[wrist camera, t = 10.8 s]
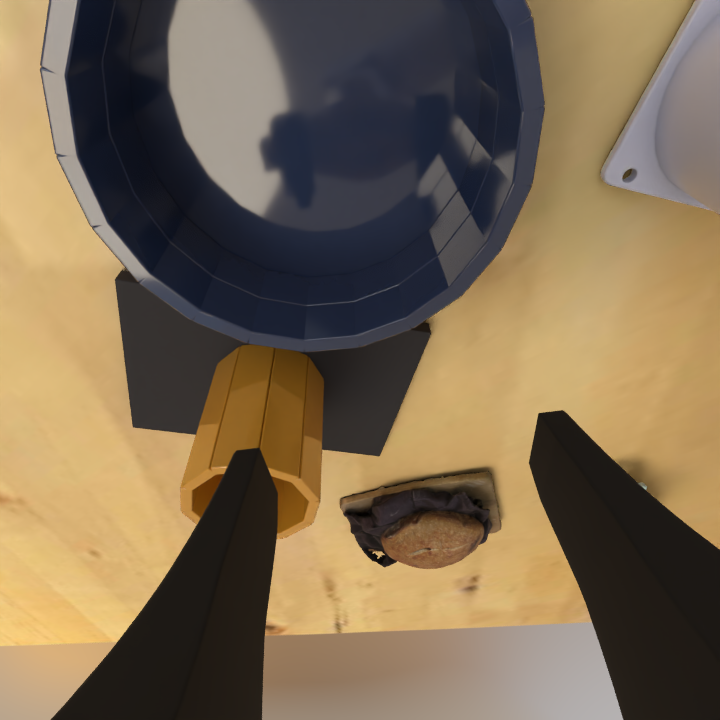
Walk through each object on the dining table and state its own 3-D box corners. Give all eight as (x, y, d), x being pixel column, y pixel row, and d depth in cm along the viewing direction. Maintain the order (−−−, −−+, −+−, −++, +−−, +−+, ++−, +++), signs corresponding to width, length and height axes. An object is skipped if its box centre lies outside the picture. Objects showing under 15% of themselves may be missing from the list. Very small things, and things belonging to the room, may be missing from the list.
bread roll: (489, 461, 30) (505, 512, 27) (500, 525, 35) (515, 574, 32) (333, 493, 31) (333, 544, 29) (366, 550, 37) (369, 598, 34)
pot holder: (429, 323, 22) (431, 333, 22) (378, 446, 28) (379, 456, 28) (120, 269, 20) (114, 279, 19) (137, 416, 26) (132, 427, 25)
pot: (563, -58, 14) (651, -66, 10) (424, 302, 22) (443, 374, 18) (93, -222, 11) (-31, -316, 7) (133, 249, 19) (84, 319, 15)
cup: (331, 351, 22) (329, 472, 17) (312, 426, 26) (306, 546, 20) (218, 333, 21) (178, 456, 16) (214, 413, 25) (181, 536, 19)
